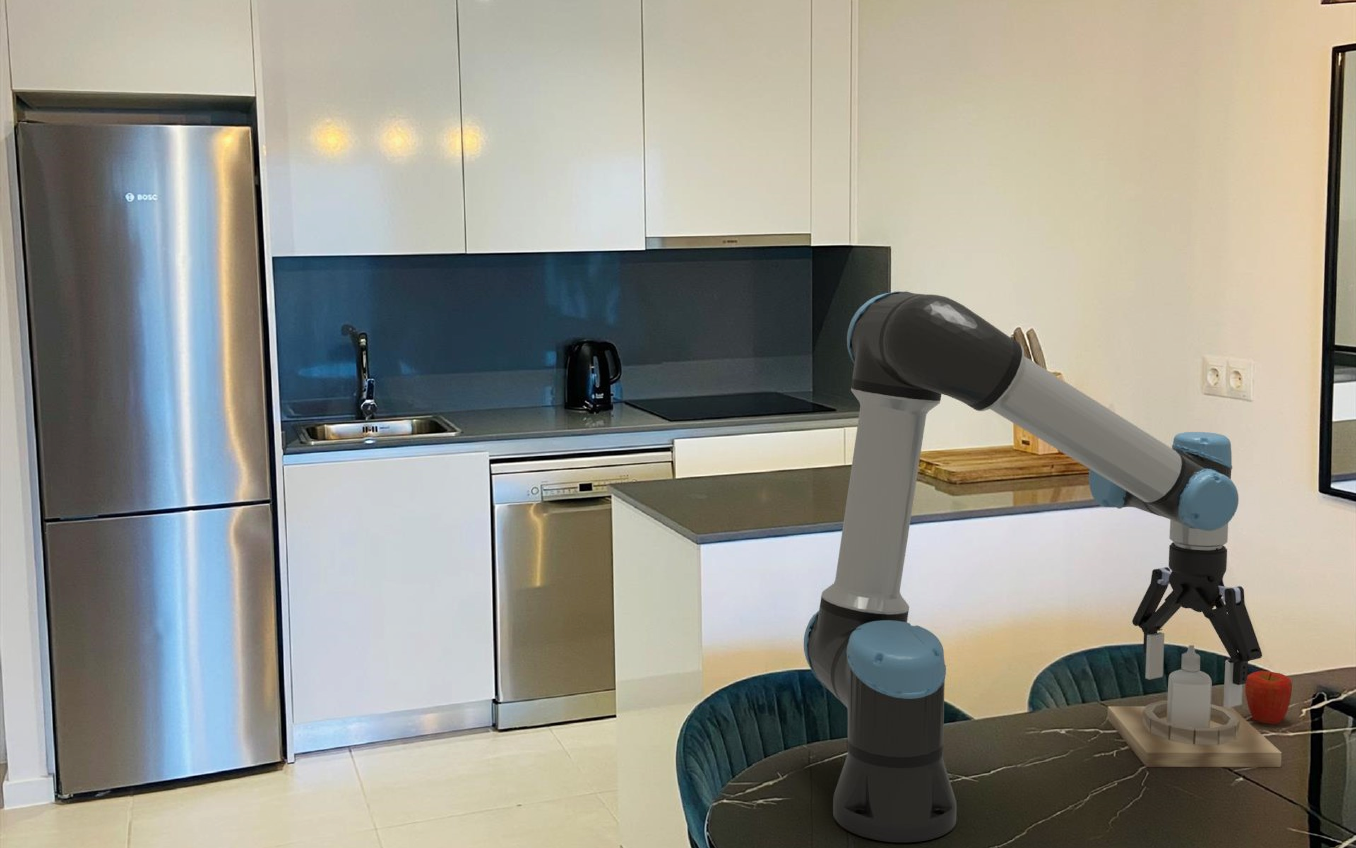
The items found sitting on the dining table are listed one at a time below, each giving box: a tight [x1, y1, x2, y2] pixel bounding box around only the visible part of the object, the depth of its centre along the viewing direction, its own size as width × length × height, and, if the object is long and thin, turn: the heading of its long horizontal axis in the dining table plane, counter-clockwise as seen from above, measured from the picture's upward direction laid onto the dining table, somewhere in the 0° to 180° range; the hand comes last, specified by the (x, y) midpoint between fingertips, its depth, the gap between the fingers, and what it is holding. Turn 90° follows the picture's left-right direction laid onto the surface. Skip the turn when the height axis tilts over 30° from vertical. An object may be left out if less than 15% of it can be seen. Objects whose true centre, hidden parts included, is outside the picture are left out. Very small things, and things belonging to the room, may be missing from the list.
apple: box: [1244, 670, 1293, 725], centre depth 194 cm, size 6×6×8 cm
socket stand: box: [1106, 699, 1283, 768], centre depth 187 cm, size 18×18×4 cm
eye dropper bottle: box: [1167, 644, 1213, 728], centre depth 186 cm, size 4×6×12 cm
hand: (1192, 691), depth 186 cm, fingers open, 13 cm apart
